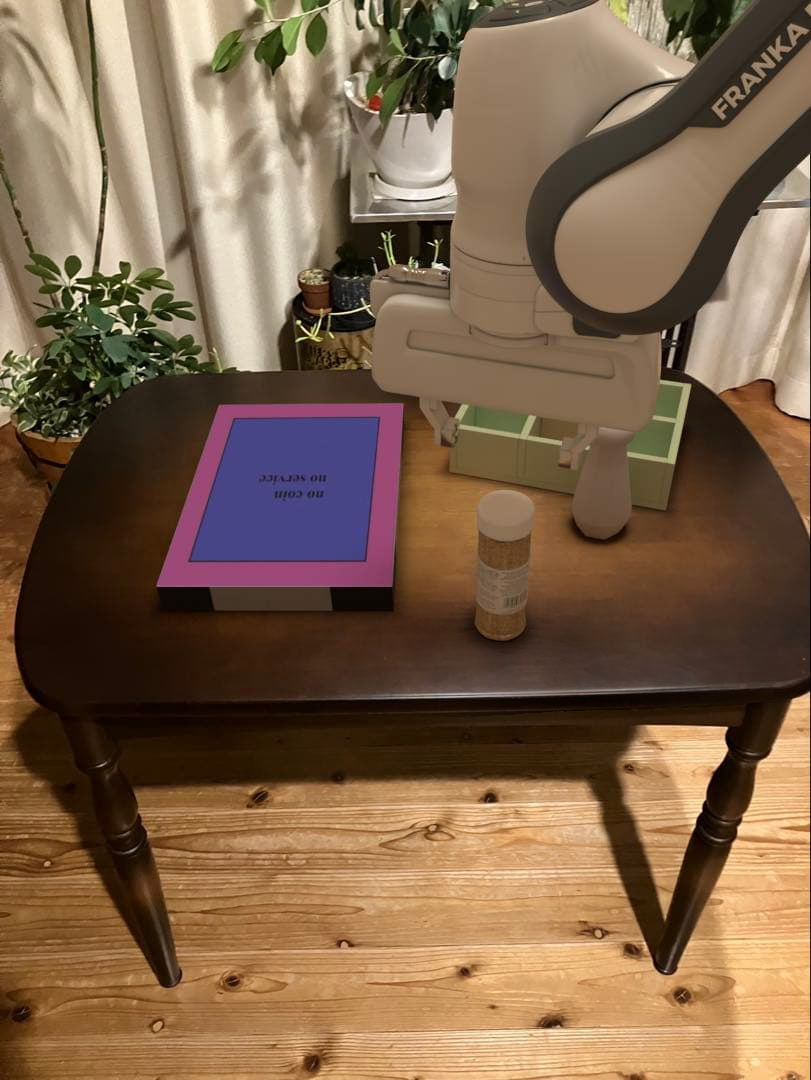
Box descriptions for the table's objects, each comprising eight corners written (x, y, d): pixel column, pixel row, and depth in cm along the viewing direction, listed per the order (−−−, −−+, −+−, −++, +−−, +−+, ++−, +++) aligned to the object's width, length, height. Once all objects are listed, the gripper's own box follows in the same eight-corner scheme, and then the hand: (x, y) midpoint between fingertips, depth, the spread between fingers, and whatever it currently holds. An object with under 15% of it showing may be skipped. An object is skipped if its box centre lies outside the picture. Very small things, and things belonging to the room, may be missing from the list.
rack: (682, 428, 102) (691, 383, 99) (665, 510, 92) (674, 464, 88) (487, 398, 109) (488, 355, 105) (449, 472, 98) (449, 426, 94)
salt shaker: (626, 509, 92) (644, 398, 83) (631, 546, 88) (650, 433, 79) (567, 506, 92) (579, 396, 84) (569, 543, 88) (582, 431, 80)
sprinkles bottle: (515, 602, 82) (523, 483, 74) (533, 637, 79) (544, 517, 70) (467, 612, 82) (469, 492, 73) (482, 648, 78) (487, 527, 69)
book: (403, 403, 103) (392, 586, 80) (404, 425, 105) (393, 610, 82) (219, 404, 104) (156, 586, 81) (223, 426, 106) (163, 610, 83)
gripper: (351, 280, 60) (362, 453, 69) (669, 322, 55) (636, 503, 64) (384, 243, 64) (391, 409, 73) (680, 278, 59) (648, 453, 68)
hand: (506, 453), depth 68 cm, fingers open, 8 cm apart
